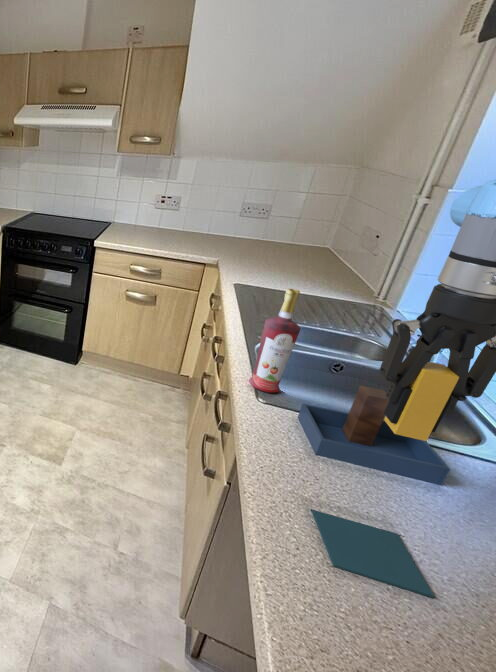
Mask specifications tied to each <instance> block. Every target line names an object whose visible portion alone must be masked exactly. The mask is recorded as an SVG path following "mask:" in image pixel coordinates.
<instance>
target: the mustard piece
mask: <svg viewBox="0 0 496 672" xmlns="http://www.w3.org/2000/svg"><path fill="white" fill-rule="evenodd" d="M458 379H459V377H458V376H457V375H456V374H455V373H454V372H452V371H451V370H450V369H449V368H448V367H447V365H446V364H444V363H443V364H442V363H438V362H431V361H428V362H427V364H426V365H425V366H424V367H423V368H422V370H421V371H420V372H419V373H418V374H417V376H416V377H415V378H414V379H413V380H412V382H411V383H410V384H409V385H408V386H409V387H410V388H411V389H412V390H413V391H412V393H411V395H410V397H409V399H408V401H407V403H406V406H405V408H404V410H403V412H402V414H401V416H400V418H399V420H398V422H397V424H394V423H391V422H390V421H389V419H388V418H387V417H386V416H385V417H384V420H385V422H386V423H387V424H388V426H389V427H390V428H391V430H392V431H393V432H394V434H397V435H401V436H406V437H410V438H414V439H419V440H423V441H427V442H428V439H429V437H430V435H431V433H433V432H432V430H433V428H434V426H435V424H436V422H437V420H438V418H439V416H440V414H441V412H442V410H443V408H444V406H445V404H446V402H447V401H448V399H449V397H450V395H451V393H452V391H453V389H454V387H455V385H456V383H457V381H458Z"/></svg>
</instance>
